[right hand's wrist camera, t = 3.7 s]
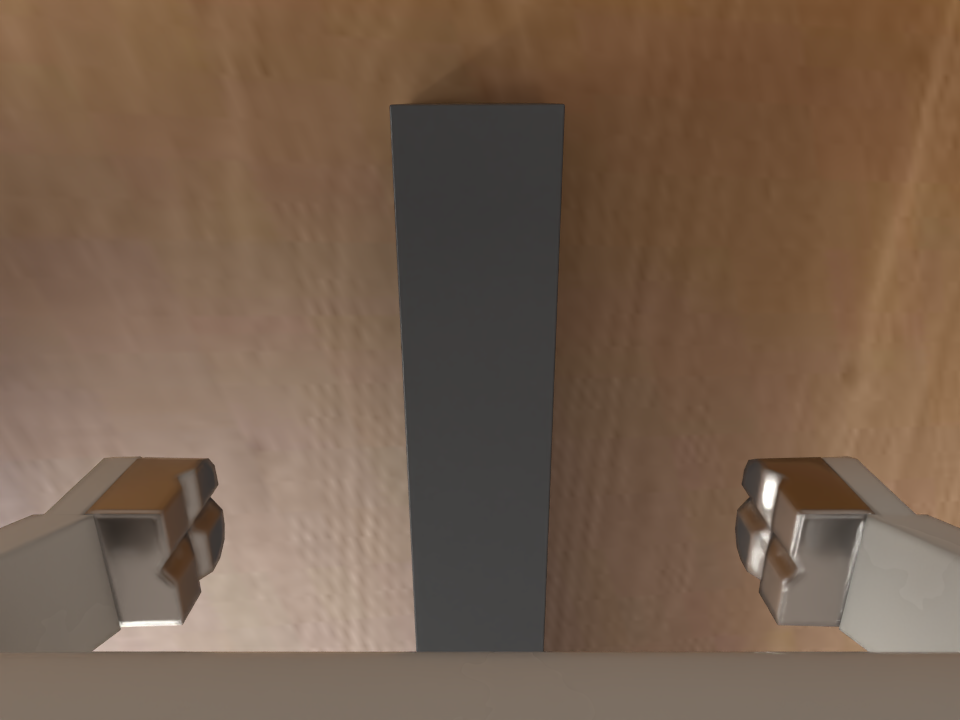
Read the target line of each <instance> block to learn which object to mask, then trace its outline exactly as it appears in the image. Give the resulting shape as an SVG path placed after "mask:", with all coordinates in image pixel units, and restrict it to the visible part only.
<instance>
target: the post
mask: <svg viewBox="0 0 960 720" xmlns="http://www.w3.org/2000/svg"><path fill="white" fill-rule="evenodd" d="M564 116H565V105H564V104H550V103H495V104H396V105H390V124H391V144H392V164H393V185H394V205H395V226H396V246H397V266H398V287H399V307H400V327H401V348H402V368H403V388H404V409H405V429H406V449H407V470H408V490H409V510H410V531H411V551H412V571H413V592H414V612H415V632H416V652H544V629H545V603H546V578H547V552H548V526H549V501H550V475H551V449H552V424H553V398H554V372H555V347H556V321H557V295H558V270H559V244H560V218H561V193H562V167H563V141H564Z"/></svg>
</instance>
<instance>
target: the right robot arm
mask: <svg viewBox="0 0 960 720" xmlns="http://www.w3.org/2000/svg"><path fill="white" fill-rule="evenodd" d="M217 486H218V480H217V475H216V470H215V465H214V464H213V463H212V462H211V461H210V460H209V458H156V457H145V458H142V457H111V458H104V459H103V460H102V461H101V462H100V463H99V464H97V465H96V466H95V467H94V468H93V469H92V470H91V471H90V472H89V473H88V474H87V475H86V476H85V477H84V478H83V479H81V480H80V481H79V482H78V483H77V484H76V485H75V486H74V487H73V488H72V489H71V490H70V491H69V492H68V493H67V494H65V495H64V496H63V497H62V498H61V499H60V500H59V501H58V502H57V503H56V504H55V505H54V506H53V507H52V508H51V509H49V510H48V511H47V512H46V513H45V514H44V515H31V516H29V517H26V518H24V519H21V520H19V521H16V522H14V523H12V524H9V525H7V526H4V527H2V528H0V720H960V528H958V527H956V526H953V525H951V524H948V523H946V522H944V521H941V520H939V519H936V518H934V517H931V516H929V515H916V514H915V513H914V512H913V511H912V510H911V509H910V508H908V507H907V506H906V505H905V504H904V503H903V502H902V501H901V500H900V499H899V498H898V497H897V496H896V495H895V494H894V493H893V492H891V491H890V490H889V489H888V488H887V487H886V486H885V485H884V484H883V483H882V482H881V481H880V480H879V479H878V478H877V477H876V476H874V475H873V474H872V473H871V472H870V471H869V470H868V469H867V468H866V467H865V466H864V465H863V464H862V463H861V462H860V461H858V460H857V459H855V458H852V457H848V456H847V457H823V458H821V457H809V458H768V459H752V460H748V463H747V465H746V467H745V469H744V474H743V479H742V486H743V487H744V489H745V490H746V492H747V494H748V495H749V498H748V499H747V500H746V501H745V502H744V504H743V505H742V506H741V507H740V508H739V509H738V510H737V518H736V526H735V533H736V544H737V549H738V553H739V556H740V559H741V561H742V563H743V565H744V567H745V569H746V570H747V572H749V573H750V574H752V575H754V576H755V577H757V578H758V579H760V580H761V582H760V588H759V593H760V595H761V597H762V599H763V600H764V602H765V604H766V605H767V607H768V609H769V611H770V612H771V614H772V616H773V618H774V619H775V621H776V623H777V624H778V625H795V626H832V627H839V630H841V631H842V632H843V633H845V634H846V635H847V636H849V637H850V638H851V639H853V640H854V641H855V642H857V643H858V644H859V645H861V646H862V647H863V648H865V649H866V650H867V651H868V652H92V651H93V650H94V649H96V648H97V647H98V646H100V645H101V644H102V643H104V642H105V641H106V640H108V639H109V638H110V637H112V636H113V635H114V634H116V633H117V632H118V631H120V630H121V628H120V627H127V626H163V625H183V623H184V621H185V619H186V618H187V616H188V614H189V612H190V611H191V609H192V607H193V606H194V604H195V602H196V600H197V599H198V597H199V595H200V593H201V588H200V582H199V580H200V579H202V578H203V577H205V576H206V575H208V574H210V573H211V572H213V570H214V568H215V567H216V565H217V563H218V561H219V559H220V556H221V552H222V548H223V543H224V533H225V523H224V516H223V510H222V509H221V508H220V507H219V506H218V505H217V504H216V502H215V501H214V500H213V499H212V498H211V495H212V494H213V492H214V490H215V489H216V487H217Z"/></svg>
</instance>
